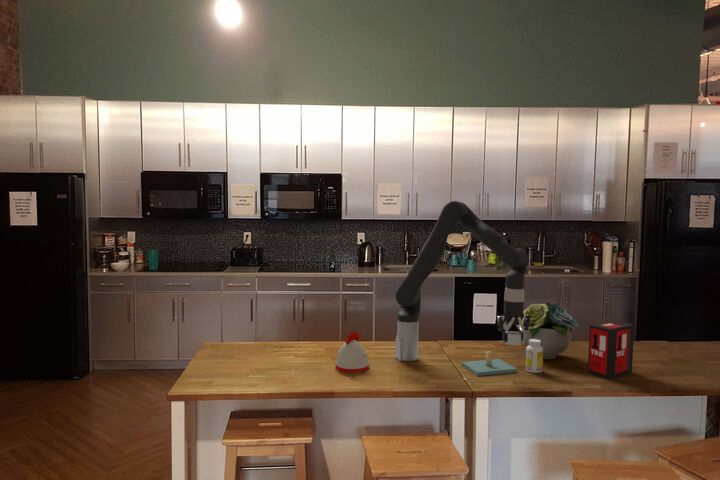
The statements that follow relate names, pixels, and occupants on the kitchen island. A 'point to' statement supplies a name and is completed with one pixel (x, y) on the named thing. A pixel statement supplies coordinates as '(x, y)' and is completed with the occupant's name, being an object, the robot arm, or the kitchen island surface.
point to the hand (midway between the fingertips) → (512, 341)
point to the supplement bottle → (534, 356)
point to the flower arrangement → (549, 328)
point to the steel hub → (513, 338)
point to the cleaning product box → (610, 349)
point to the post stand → (489, 366)
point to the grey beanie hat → (352, 355)
